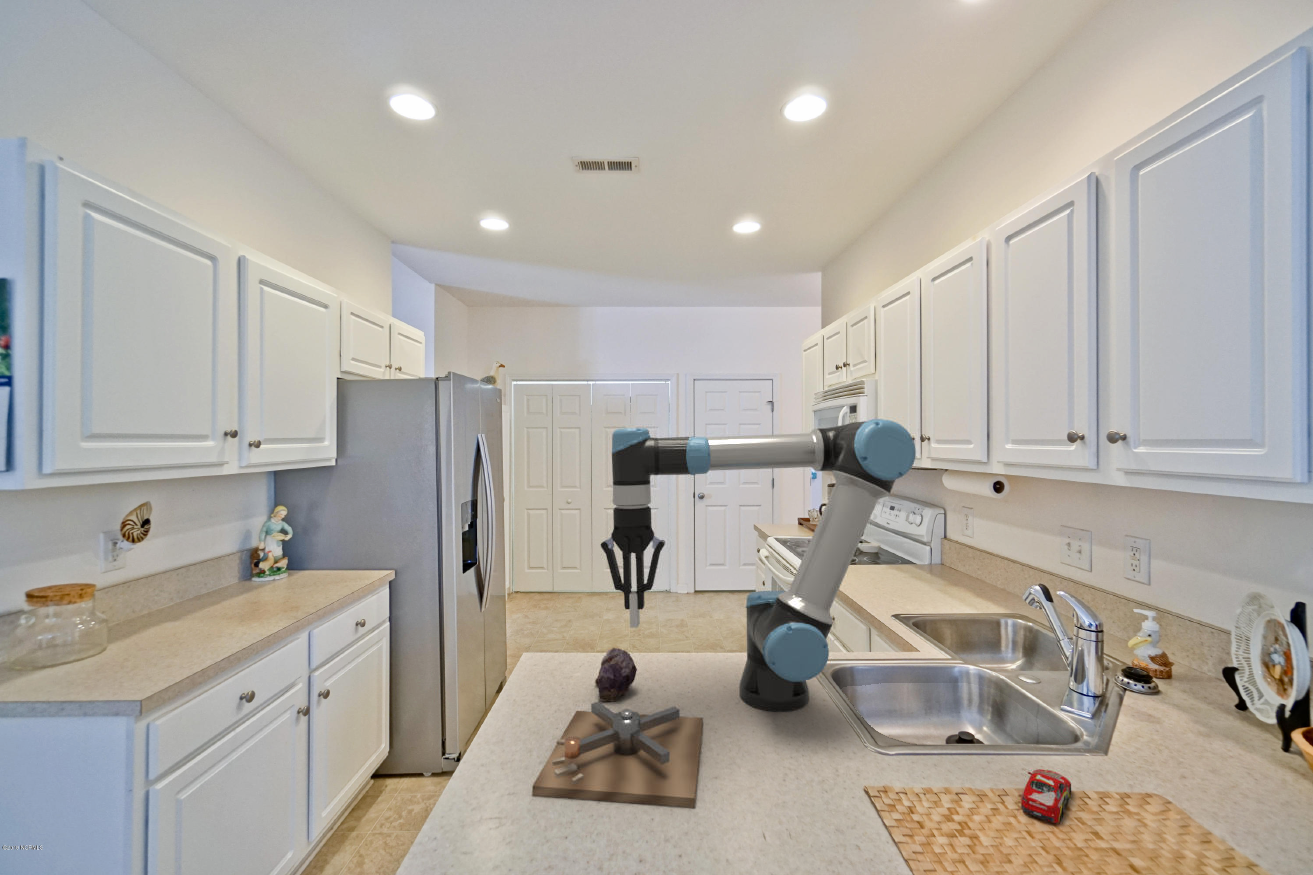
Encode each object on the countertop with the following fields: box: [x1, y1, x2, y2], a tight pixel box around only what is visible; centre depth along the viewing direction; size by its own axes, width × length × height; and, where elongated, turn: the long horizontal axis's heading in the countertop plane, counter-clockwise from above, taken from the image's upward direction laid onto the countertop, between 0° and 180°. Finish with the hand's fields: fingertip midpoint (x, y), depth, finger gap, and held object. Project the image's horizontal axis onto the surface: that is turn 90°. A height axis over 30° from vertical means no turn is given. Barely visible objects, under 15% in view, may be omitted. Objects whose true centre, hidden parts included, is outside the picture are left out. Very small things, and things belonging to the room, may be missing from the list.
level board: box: [531, 710, 704, 809], centre depth 101 cm, size 26×26×2 cm
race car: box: [1020, 768, 1072, 824], centre depth 88 cm, size 13×5×4 cm, turn 135°
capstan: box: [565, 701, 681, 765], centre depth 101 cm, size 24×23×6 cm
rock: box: [594, 647, 638, 702], centre depth 128 cm, size 12×9×10 cm
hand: (634, 625), depth 111 cm, fingers closed
